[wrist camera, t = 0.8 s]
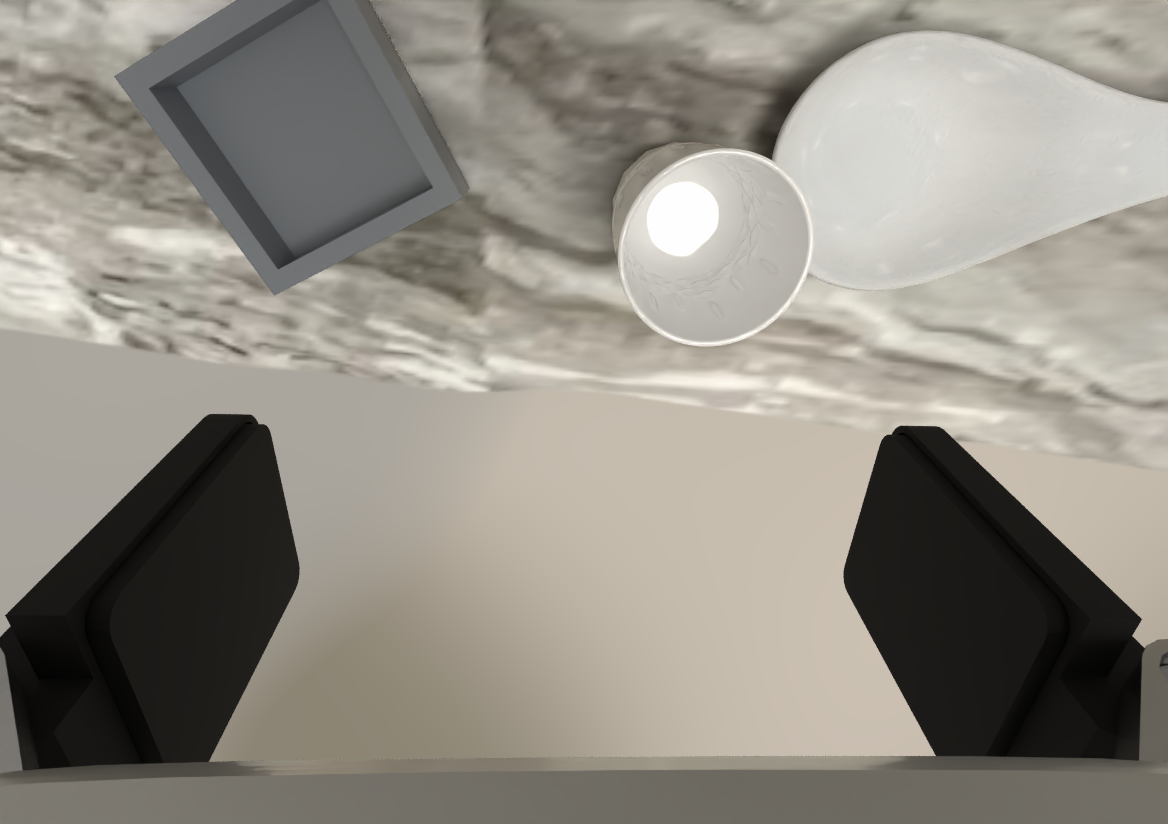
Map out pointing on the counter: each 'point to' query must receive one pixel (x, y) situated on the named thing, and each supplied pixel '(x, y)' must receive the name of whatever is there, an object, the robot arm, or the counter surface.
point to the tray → (297, 131)
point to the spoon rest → (959, 156)
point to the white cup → (710, 241)
